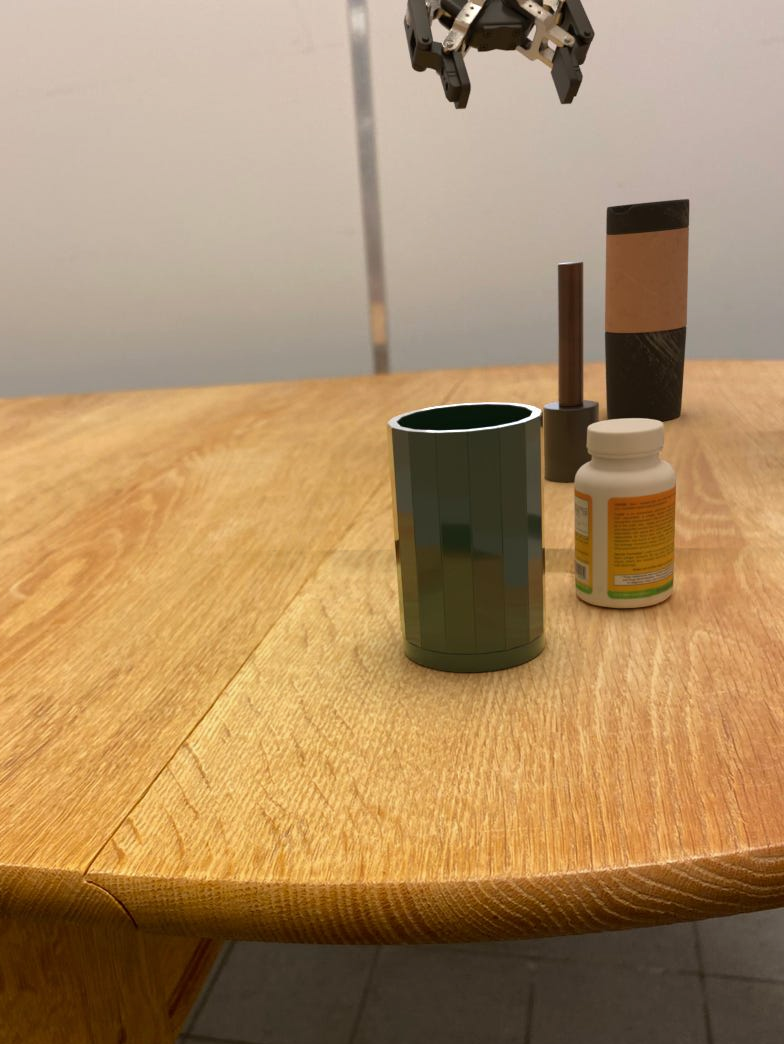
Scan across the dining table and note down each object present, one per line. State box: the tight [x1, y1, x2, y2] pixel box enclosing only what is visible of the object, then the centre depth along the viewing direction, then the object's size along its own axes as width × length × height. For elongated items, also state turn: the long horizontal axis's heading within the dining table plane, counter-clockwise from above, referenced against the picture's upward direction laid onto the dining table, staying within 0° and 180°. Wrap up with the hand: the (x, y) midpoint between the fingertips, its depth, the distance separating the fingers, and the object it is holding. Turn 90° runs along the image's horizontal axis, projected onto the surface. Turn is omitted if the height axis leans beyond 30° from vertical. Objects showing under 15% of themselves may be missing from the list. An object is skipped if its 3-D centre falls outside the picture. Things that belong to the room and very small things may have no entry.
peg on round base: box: [542, 261, 600, 484], centre depth 78 cm, size 4×4×17 cm
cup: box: [386, 401, 547, 673], centre depth 54 cm, size 7×7×12 cm
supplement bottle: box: [573, 418, 677, 609], centre depth 59 cm, size 5×5×10 cm
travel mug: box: [604, 198, 690, 422], centre depth 104 cm, size 8×8×20 cm
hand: (518, 97), depth 81 cm, fingers open, 8 cm apart
